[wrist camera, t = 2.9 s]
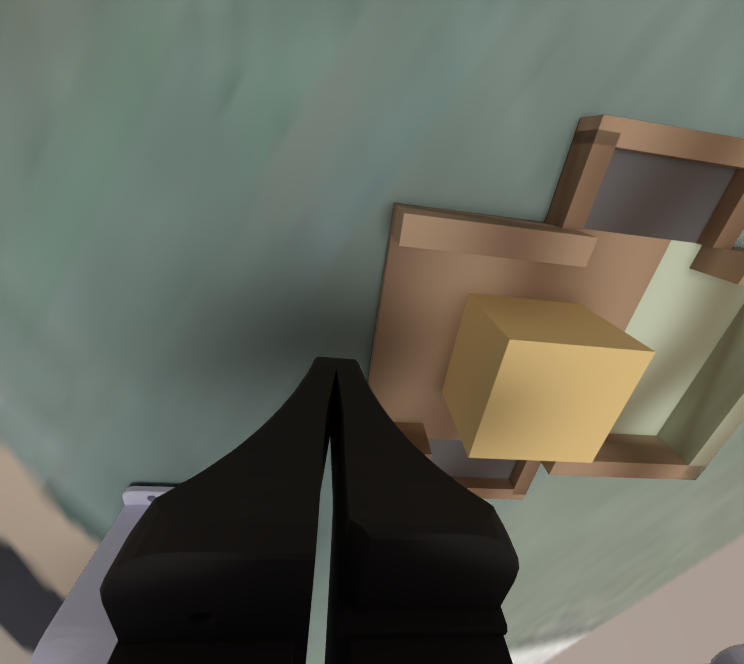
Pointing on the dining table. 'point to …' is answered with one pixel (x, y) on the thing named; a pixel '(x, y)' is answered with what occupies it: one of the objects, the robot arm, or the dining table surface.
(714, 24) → the dining table surface
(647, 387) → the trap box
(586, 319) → the block
